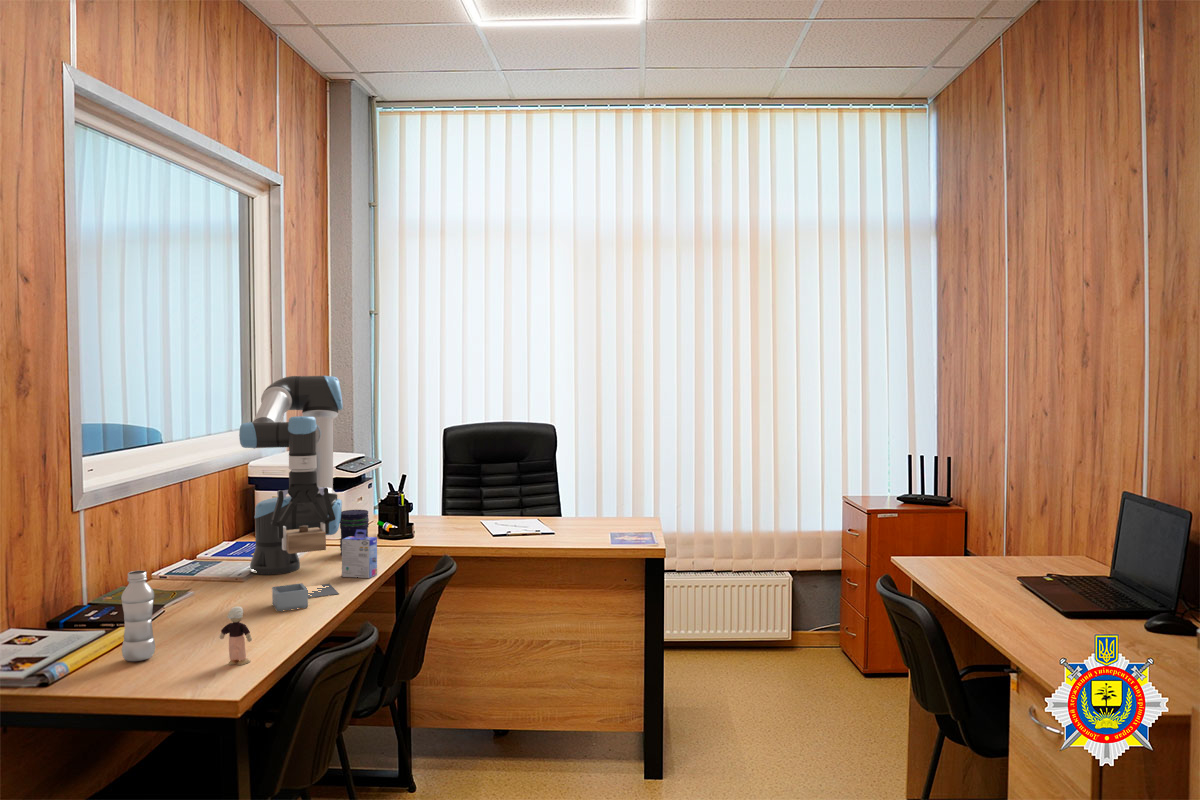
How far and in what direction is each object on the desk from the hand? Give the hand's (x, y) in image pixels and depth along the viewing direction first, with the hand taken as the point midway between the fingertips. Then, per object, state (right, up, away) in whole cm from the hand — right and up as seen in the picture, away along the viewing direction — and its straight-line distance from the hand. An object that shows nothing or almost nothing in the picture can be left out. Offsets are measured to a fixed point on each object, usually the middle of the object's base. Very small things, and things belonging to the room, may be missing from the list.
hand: (303, 547), depth 238 cm
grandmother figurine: (+3, -17, -52) cm, 55 cm away
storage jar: (-2, -12, +56) cm, 57 cm away
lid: (0, 0, 0) cm, 0 cm away
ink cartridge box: (+9, -14, +25) cm, 30 cm away
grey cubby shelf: (-1, -15, -8) cm, 17 cm away
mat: (0, -14, +6) cm, 15 cm away
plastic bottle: (-20, -17, -50) cm, 56 cm away
